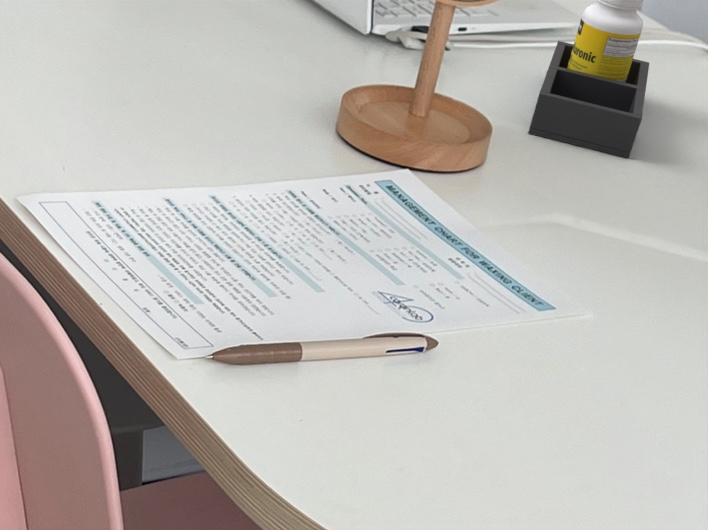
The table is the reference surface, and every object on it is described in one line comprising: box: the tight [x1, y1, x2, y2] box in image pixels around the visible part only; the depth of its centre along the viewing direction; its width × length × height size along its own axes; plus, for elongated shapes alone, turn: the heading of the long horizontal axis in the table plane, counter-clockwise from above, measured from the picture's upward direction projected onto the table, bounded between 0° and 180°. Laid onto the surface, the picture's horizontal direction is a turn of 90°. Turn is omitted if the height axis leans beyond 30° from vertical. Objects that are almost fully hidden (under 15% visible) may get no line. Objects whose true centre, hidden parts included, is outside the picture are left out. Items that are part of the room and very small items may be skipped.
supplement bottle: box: [567, 0, 644, 83], centre depth 117 cm, size 5×5×10 cm
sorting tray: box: [527, 40, 650, 159], centre depth 116 cm, size 16×9×4 cm, turn 164°
